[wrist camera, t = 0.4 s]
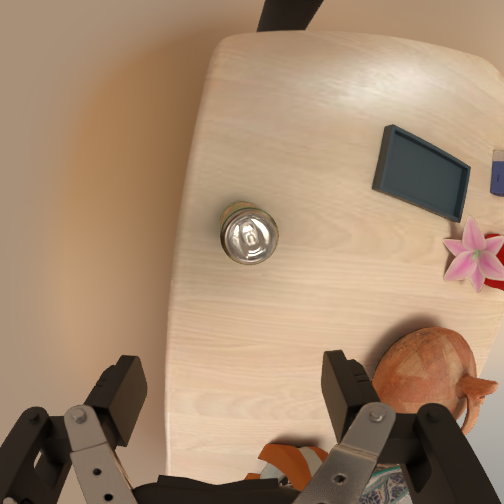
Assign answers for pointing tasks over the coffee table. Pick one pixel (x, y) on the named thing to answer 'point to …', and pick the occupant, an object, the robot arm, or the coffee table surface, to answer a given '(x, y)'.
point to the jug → (432, 375)
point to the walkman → (498, 174)
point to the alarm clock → (290, 464)
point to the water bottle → (503, 258)
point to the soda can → (247, 233)
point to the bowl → (385, 486)
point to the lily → (475, 256)
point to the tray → (421, 174)
